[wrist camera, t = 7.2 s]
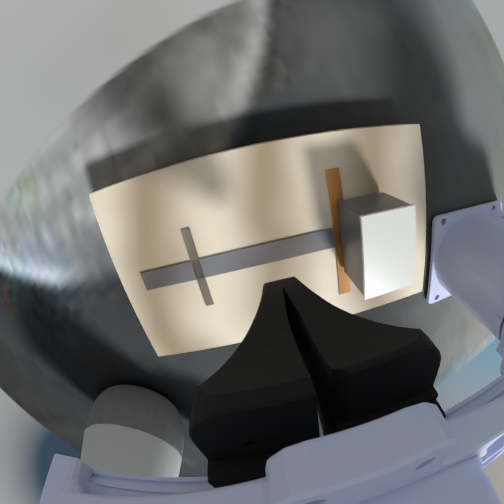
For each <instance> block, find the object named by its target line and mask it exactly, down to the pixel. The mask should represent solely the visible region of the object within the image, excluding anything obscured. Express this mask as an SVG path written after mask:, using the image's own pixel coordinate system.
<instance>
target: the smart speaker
mask: <svg viewBox="0 0 504 504" xmlns="http://www.w3.org/2000/svg"><path fill="white" fill-rule="evenodd" d="M183 447H184V426H183V422H182V418H181V415H180V413H179V412H178V410H177V408H176V407H175V406H174V405H173V404H172V403H171V402H170V401H169V400H168V399H167V398H165V397H164V396H162V395H160V394H159V393H157V392H155V391H153V390H150V389H147V388H144V387H140V386H136V385H115V386H112V387H109V388H108V389H106V390H104V391H103V392H102V393H101V394H100V395H99V396H98V397H97V399H96V400H95V402H94V403H93V405H92V407H91V410H90V412H89V416H88V419H87V423H86V427H85V432H84V438H83V445H82V453H81V460H82V461H83V462H85V463H86V464H88V465H89V466H90V467H91V468H92V469H93V470H98V471H105V472H112V473H119V474H128V475H138V476H152V477H178V476H179V471H180V466H181V461H182V454H183Z"/></svg>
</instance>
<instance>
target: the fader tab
mask: <svg viewBox="0 0 504 504" xmlns="http://www.w3.org/2000/svg"><path fill="white" fill-rule="evenodd" d="M337 206H338V214H339V223H340V232H341V242H342V253H343V265H344V272H345V273H346V274H347V275H348V277H349V278H350V279H351V280H352V282H353V283H354V284H355V286H356V287H357V288H358V289H359V291H360V292H361V293H362V295H363V298H364V299H365V300H366V299H369V298H373V297H376V296H379V295H382V294H385V293H388V292H391V291H395V290H398V289H401V288H404V287H407V286H409V285H412V284H413V281H414V266H415V238H416V214H415V205H414V204H409V203H406V202H404V201H402V200H400V199H398V198H395V197H393V196H391V195H389V194H386V193H384V192H380V193H375V194H370V195H365V196H360V197H355V198H350V199H345V200H340V201H337Z"/></svg>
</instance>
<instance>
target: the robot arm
mask: <svg viewBox="0 0 504 504" xmlns="http://www.w3.org/2000/svg"><path fill="white" fill-rule="evenodd" d="M501 210H502V203H501V201H498V200H496V201H492V202H488V203H484V204H480V205H476V206H473V207H469V208H465V209H461V210H457V211H453V212H448V213H444V214H440V215H437V216H435V217H434V218H433V220H432V242H431V259H430V272H429V282H428V291H427V298H426V299H427V302H428V303H430V304H431V303H434V302H437V301H439V300H441V299H444V298H446V297H448V296H451V295H452V296H453V297H454V298H455V299H456V300H457V301H459V302H460V303H461V304H462V305H463V306H464V307H465V308H466V309H467V310H468V311H469V312H471V313H472V314H473V315H474V316H475V317H476V318H477V319H478V320H479V321H480V322H481V323H482V324H483V325H484V326H485V327H486V328H487V329H488V330H489V331H490V332H491V333H492V334H493V335H494V336H495V337H496V338H497V339H498V340H499V341H500V343H499V345H498V347H497V349H496V351H497V352H498V353H499V354H500V355H501V356H502V357H503V360H502V362H501V376H500V377H498V378H497V379H496V380H494V381H493V382H491V383H490V384H489V385H487V386H486V387H484V388H483V389H481V390H480V391H478V392H476V393H475V394H473V395H472V396H470V397H469V398H467V399H465V400H464V401H462V402H460V403H459V404H457V405H455V406H453V407H452V408H450V409H448V410H446V411H443V410H442V408H441V406H440V405H439V403H438V402H437V400H436V398H437V396H438V393H437V391H436V390H435V388H434V387H433V384H434V381H435V378H436V375H437V372H438V369H439V366H440V361H441V355H440V351H439V350H438V349H437V347H436V346H435V345H434V343H433V342H432V341H431V340H430V338H429V337H428V336H427V335H426V334H425V333H424V332H423V331H422V330H421V329H413V328H404V327H396V326H391V325H386V324H382V323H378V322H374V321H370V320H367V319H364V318H361V317H358V316H356V315H353V314H351V313H349V312H346V311H344V310H342V309H340V308H338V307H336V306H334V305H332V304H331V303H329V302H327V301H326V300H324V299H323V298H321V297H320V296H319V295H317V294H316V293H314V292H313V291H312V290H310V289H309V288H308V287H306V286H305V285H304V284H303V283H302V282H301V281H299V280H298V279H297V278H296V277H294V276H293V277H289V278H285V279H281V280H276V281H272V282H268V283H265V284H264V285H263V291H262V296H261V300H260V304H259V307H258V310H257V313H256V315H255V317H254V320H253V322H252V324H251V326H250V328H249V330H248V332H247V334H246V336H245V337H244V339H243V341H242V342H241V344H240V345H239V346H238V348H237V349H236V351H235V352H234V353H233V355H232V356H231V357H230V358H229V359H228V360H227V362H226V363H225V364H224V365H223V366H222V367H221V368H220V369H219V370H218V371H217V372H216V373H215V374H213V375H212V376H211V377H210V378H209V379H207V380H206V381H205V382H204V383H203V384H201V385H200V386H199V387H197V389H196V392H195V395H194V399H193V403H192V407H191V412H190V424H189V436H190V438H191V440H192V442H193V443H194V444H195V445H196V446H197V448H198V449H199V450H200V451H201V452H202V453H203V455H204V456H205V457H206V458H207V459H208V477H152V476H138V475H128V474H119V473H112V472H105V471H98V470H93V469H92V468H91V467H90V466H89V465H88V464H86V463H85V462H83V461H82V460H79V459H77V458H74V457H68V456H64V455H60V454H55V455H54V458H53V461H52V463H51V466H50V469H49V473H48V476H47V479H46V482H45V485H44V489H43V492H42V496H41V499H40V504H501V502H500V500H499V498H498V495H497V493H496V491H495V489H494V487H493V485H492V483H491V481H490V479H489V477H488V475H487V473H486V472H485V470H484V467H485V466H486V465H488V464H489V463H490V462H491V461H493V460H494V459H495V458H497V457H498V456H499V455H500V454H501V453H503V452H504V213H503V212H501ZM442 220H443V222H442ZM441 222H442V223H441ZM317 410H318V413H317ZM318 414H319V418H320V422H321V426H322V430H323V434H324V436H322V437H320V434H319V423H318Z"/></svg>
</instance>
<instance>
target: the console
mask: <svg viewBox="0 0 504 504" xmlns="http://www.w3.org/2000/svg"><path fill="white" fill-rule="evenodd" d="M380 192H384V193H386V194H389V195H391V196H393V197H395V198H398V199H400V200H402V201H404V202H406V203H409V204H414V205H415V214H416V238H415V266H414V281H413V284H412V285H409V286H407V287H404V288H401V289H398V290H395V291H391V292H388V293H385V294H382V295H379V296H376V297H373V298H369V299H366V300H365V299H364V298H363V295H362V293H361V292H360V291H359V289H358V288H357V287H356V286H355V284H354V283H353V282H352V280H351V279H350V278H349V277H348V275H347V274H346V273H345V272H344V265H343V253H342V242H341V232H340V223H339V214H338V206H337V201H340V200H345V199H350V198H355V197H360V196H365V195H370V194H375V193H380ZM89 196H90V200H91V203H92V206H93V209H94V212H95V215H96V218H97V221H98V224H99V226H100V229H101V232H102V235H103V237H104V240H105V243H106V245H107V248H108V250H109V253H110V255H111V258H112V260H113V263H114V265H115V268H116V270H117V273H118V275H119V277H120V280H121V282H122V284H123V286H124V289H125V291H126V293H127V295H128V297H129V300H130V302H131V304H132V306H133V308H134V310H135V312H136V314H137V316H138V318H139V320H140V322H141V324H142V326H143V328H144V330H145V332H146V334H147V336H148V338H149V340H150V342H151V344H152V346H153V347H154V349H155V351H156V353H157V355H158V356H165V355H172V354H178V353H185V352H191V351H197V350H203V349H209V348H214V347H219V346H225V345H230V344H235V343H240V342H242V341H243V339H244V337H245V336H246V334H247V332H248V330H249V328H250V326H251V324H252V322H253V320H254V317H255V315H256V313H257V310H258V307H259V304H260V300H261V296H262V291H263V285H264V284H265V283H268V282H272V281H276V280H281V279H285V278H289V277H293V276H294V277H296V278H297V279H298V280H299V281H301V282H302V283H303V284H304V285H305V286H306V287H308V288H309V289H310V290H312V291H313V292H314V293H316V294H317V295H319V296H320V297H321V298H323V299H324V300H326V301H327V302H329V303H331V304H332V305H334V306H336V307H338V308H340V309H342V310H344V311H346V312H349V313H351V314H355V313H358V312H362V311H365V310H368V309H371V308H374V307H377V306H381V305H384V304H387V303H390V302H393V301H396V300H398V299H401V298H404V297H407V296H410V295H413V294H416V293H418V292H421V291H422V287H423V276H424V264H425V246H426V188H425V170H424V158H423V148H422V139H421V131H420V124H392V125H379V126H368V127H358V128H349V129H340V130H333V131H325V132H318V133H312V134H305V135H299V136H293V137H287V138H282V139H276V140H271V141H266V142H261V143H256V144H252V145H247V146H242V147H238V148H234V149H229V150H225V151H221V152H217V153H213V154H209V155H205V156H201V157H197V158H194V159H190V160H187V161H183V162H179V163H176V164H173V165H169V166H166V167H163V168H159V169H156V170H153V171H150V172H147V173H144V174H141V175H138V176H135V177H132V178H129V179H126V180H123V181H120V182H117V183H114V184H112V185H109V186H106V187H104V188H101V189H99V190H97V191H95V192H93V193H91V194H89Z"/></svg>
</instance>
